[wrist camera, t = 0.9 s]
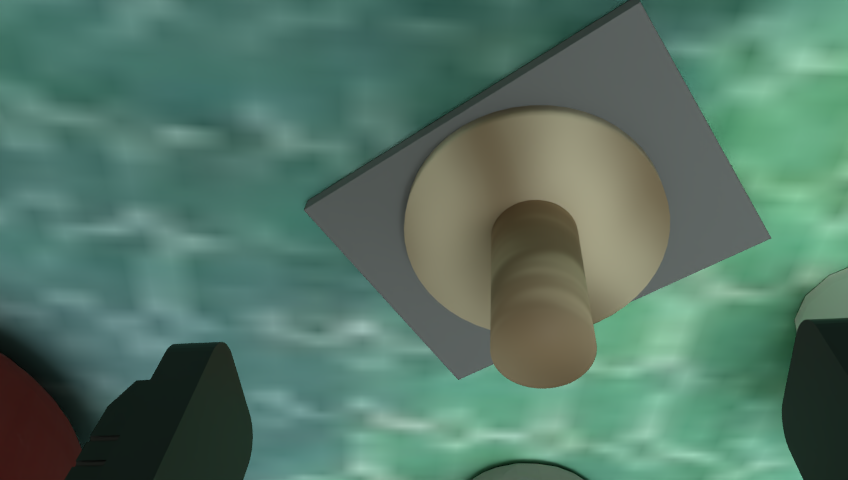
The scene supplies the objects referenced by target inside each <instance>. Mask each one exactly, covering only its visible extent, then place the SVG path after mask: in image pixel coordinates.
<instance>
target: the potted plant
mask: <svg viewBox="0 0 848 480" xmlns="http://www.w3.org/2000/svg"><path fill="white" fill-rule="evenodd" d="M472 480H583V479H582V478H580V477H579V476H577V475H576V474H574V473H572V472H569V471H567V470H564V469H561V468H559V467H556V466H549V465H542V464H527V463H516V464H511V465H506V466H501V467H496V468H494V469H491V470H489V471H486V472H483V473H481V474H480V475H478V476H477V477H475V478H474V479H472Z"/></svg>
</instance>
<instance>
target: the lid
mask: <svg viewBox="0 0 848 480" xmlns="http://www.w3.org/2000/svg"><path fill="white" fill-rule="evenodd" d="M669 234H670V212H669V206H668V201H667V197H666V194H665V191H664V188H663V185H662V183H661V180H660V177H659V175H658V173H657V171H656V169H655V167H654V165H653V163H652V161H651V160H650V158H649V157H648V156H647V154H646V153H645V151H644V150H643V149H642V148H641V147H640V146H639V145H638V144H637V143H636V142H635V141H634V140H633V139H632V138H631V137H630V136H629V135H627V134H626V133H625V132H623V131H622V130H621V129H620V128H618V127H617V126H615V125H613V124H611V123H609V122H608V121H606V120H604V119H602V118H600V117H597V116H594V115H592V114H589V113H587V112H583V111H579V110H576V109H572V108H567V107H559V106H551V105H529V106H521V107H513V108H508V109H504V110H500V111H496V112H493V113H490V114H488V115H485V116H482V117H480V118H477V119H475V120H473V121H471V122H469V123H468V124H466V125H464V126H462V127H460V128H459V129H458V130H456V131H455V132H453V133H452V134H450V135H449V136H448V137H447V138H445V139H444V140H443V141H442V142H441V143H440V144H439V145H438V146H437V147H436V148H435V149H434V150H433V151H432V152H431V154H430V155H429V156H428V157H427V158H426V160H425V161H424V163H423V164H422V166H421V168H420V169H419V171H418V173H417V175H416V177H415V179H414V182H413V184H412V186H411V190H410V194H409V198H408V202H407V207H406V212H405V222H404V237H405V245H406V250H407V254H408V257H409V260H410V262H411V265H412V268H413V270H414V271H415V273H416V275H417V277H418V279H419V280H420V282H421V283H422V284H423V286H424V287H425V288H426V290H427V291H428V292H429V293H430V294H431V295H432V296H433V297H434V298H435V299H436V300H437V301H438V302H439V303H440V304H441V305H443V306H444V307H445V308H446V309H448V310H449V311H451V312H452V313H454V314H455V315H457V316H459V317H460V318H462V319H464V320H466V321H468V322H470V323H473V324H475V325H477V326H480V327H483V328H486V329H489V330H490V354H491V358H492V361H493V363H494V365H495V367H496V368H497V370H498V371H499V372H500V373H501V374H502V375H503V376H505V377H506V378H507V379H509V380H511V381H513V382H515V383H517V384H520V385H523V386H526V387H531V388H554V387H559V386H563V385H566V384H568V383H571V382H573V381H575V380H576V379H578V378H580V377H581V376H582V375H583V374H585V373H586V372H587V371H588V370H589V368H590V367H591V365H592V364H593V362H594V360H595V357H596V351H597V346H596V339H595V333H594V326H593V324H595V323H597V322H599V321H601V320H603V319H605V318H607V317H609V316H611V315H613V314H614V313H616V312H617V311H619V310H620V309H622V308H623V307H625V306H626V305H627V304H628V303H630V302H631V301H632V300H633V299H634V298H635V297H637V296H638V294H639V293H640V292H641V291H642V290H643V289H644V288H645V287H646V286H647V285H648V283H649V282H650V280H651V279H652V278H653V276H654V275H655V273H656V271H657V269H658V268H659V266H660V264H661V262H662V260H663V257H664V254H665V251H666V248H667V245H668V239H669Z"/></svg>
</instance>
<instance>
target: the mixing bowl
mask: <svg viewBox="0 0 848 480" xmlns="http://www.w3.org/2000/svg"><path fill="white" fill-rule="evenodd" d="M81 451H82V448H81V446H80V444H79V441H78V439H77V436H76V434H75V432H74V430H73V428H72V426H71V424H70V422H69V420H68V418H67V417H66V416H65V414H64V413H63V412H62V410H61V409H60V407H59V406H58V404H57V403H56V402H55V400H54V399H53V398H52V397H51V396H50V395H49V394H48V393H47V392H46V391H45V390H44V389H43V388H42V387H41V385H40V384H39V383H38V382H37V381H36V380H35V379H34V378H33V377H31V376H30V375H29V374H28V373H27V372H26V371H24V370H23V369H22V368H20V367H19V366H18V365H17V364H16V363H14V362H13V361H12V360H11V359H9V358H8V357H6V356H5V355H4V354H2V353H1V352H0V480H64V479H65V478H66V476H67V474H68V473H69V471H70V469H71V468H72V467H75V466H76V459H77V458H78V456H79V454H80V452H81Z"/></svg>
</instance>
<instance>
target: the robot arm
mask: <svg viewBox="0 0 848 480" xmlns="http://www.w3.org/2000/svg"><path fill="white" fill-rule="evenodd" d="M782 422H783V429H784V434H785V438H786V442H787V445H788V448H789V450H790V452H791V454H792V457H793V459H794V461H795V463H796V465H797V467H798V469H799V471H800V473H801V476H802V478H803V480H848V318H829V319H806V320H803V321H802V322H801V323H800V325H799V327H798V330H797V333H796V338H795V343H794V348H793V353H792V358H791V363H790V368H789V373H788V378H787V383H786V388H785V393H784V398H783V404H782ZM90 437H91V440H90V442H86V444H85V446H84V447H83V449H82V451H81V452H80V454H79V456H78V458H77V459H76V466H75V467H72V468H71V469H70V471H69V473H68V474H67V476H66V478H65V479H64V480H243V479H244V476H245V473H246V470H247V467H248V464H249V460H250V456H251V451H252V439H253V433H252V422H251V417H250V414H249V410H248V407H247V404H246V400H245V397H244V394H243V390H242V387H241V384H240V380H239V377H238V373H237V370H236V367H235V363H234V360H233V357H232V354H231V351H230V349H229V347H228V346H227V344H225V343H224V342H212V343H188V344H173V345H171V346H170V347H169V348H168V349H167V351H166V352H165V354H164V356H163V358H162V359H161V361H160V363H159V365H158V367H157V369H156V370H155V372H154V374H153V376H152V378H151V380H139V381H135V382H134V383H133V384H132V385H131V386H130V387H129V388H128V389H127V390H125V391H124V392H123V393H122V394H121V395H120V396H119V397H118V398H117V399H115V400H114V401H113V402H112V403H111V404H110V405H109V406H108V407H107V409H106V410H105V412H104V414H103V415H102V417H101V419H100V420H99V422H98V424H97V425H96V427H95V429H94V431H93V432H92V434H91V436H90Z"/></svg>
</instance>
